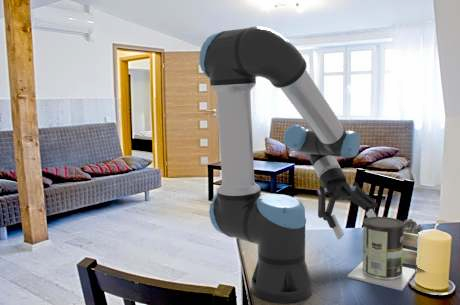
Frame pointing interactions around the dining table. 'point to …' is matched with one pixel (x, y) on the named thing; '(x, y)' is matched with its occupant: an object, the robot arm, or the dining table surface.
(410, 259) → the crate frame
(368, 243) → the coffee can
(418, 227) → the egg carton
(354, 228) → the dining table surface
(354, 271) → the ceramic tile
